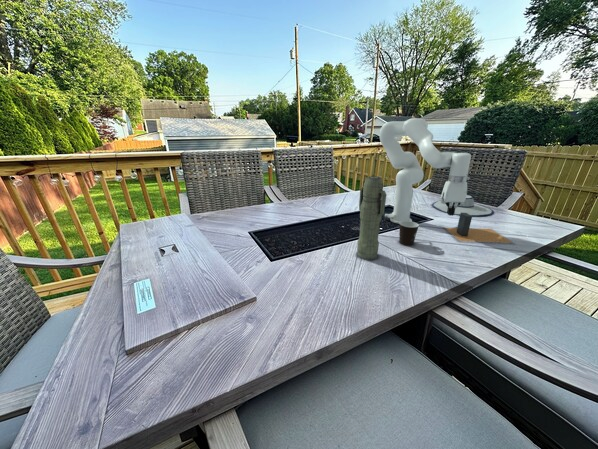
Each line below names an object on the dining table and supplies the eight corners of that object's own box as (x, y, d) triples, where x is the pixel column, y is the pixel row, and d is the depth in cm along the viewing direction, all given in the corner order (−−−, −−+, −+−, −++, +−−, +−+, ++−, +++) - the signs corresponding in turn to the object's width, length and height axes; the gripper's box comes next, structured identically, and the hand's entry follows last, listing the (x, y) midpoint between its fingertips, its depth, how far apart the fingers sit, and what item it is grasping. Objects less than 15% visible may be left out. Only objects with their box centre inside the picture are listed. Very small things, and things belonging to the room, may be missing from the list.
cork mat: (459, 241, 122) (459, 240, 122) (444, 228, 139) (444, 227, 139) (512, 243, 119) (512, 242, 119) (490, 229, 136) (490, 229, 136)
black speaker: (461, 236, 127) (465, 216, 123) (455, 231, 133) (460, 212, 129) (467, 236, 127) (472, 216, 123) (461, 232, 132) (466, 212, 129)
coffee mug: (407, 248, 117) (410, 228, 113) (393, 241, 124) (395, 222, 120) (423, 243, 122) (427, 224, 118) (409, 237, 129) (412, 218, 125)
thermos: (373, 263, 104) (382, 180, 92) (350, 254, 112) (355, 177, 100) (384, 256, 110) (393, 177, 97) (361, 248, 118) (367, 174, 105)
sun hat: (431, 200, 196) (433, 188, 193) (485, 204, 182) (488, 192, 179) (433, 212, 165) (435, 199, 162) (499, 219, 151) (503, 205, 148)
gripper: (469, 177, 123) (462, 212, 129) (438, 177, 125) (432, 212, 131) (477, 180, 116) (469, 217, 122) (444, 180, 118) (437, 216, 124)
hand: (450, 214), depth 127 cm, fingers closed
